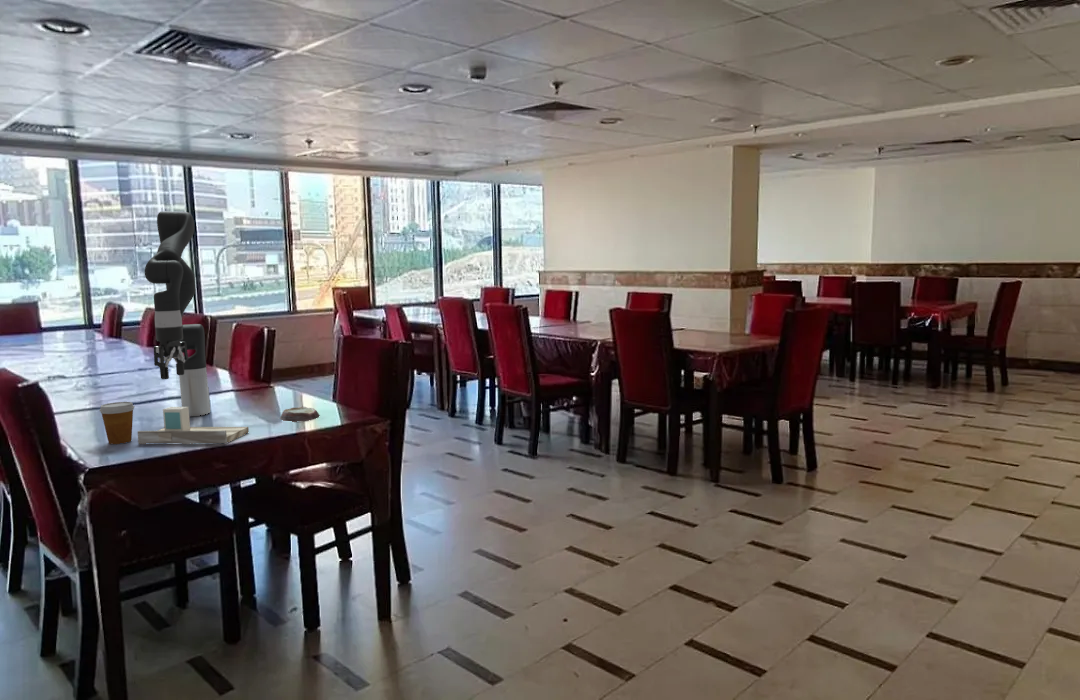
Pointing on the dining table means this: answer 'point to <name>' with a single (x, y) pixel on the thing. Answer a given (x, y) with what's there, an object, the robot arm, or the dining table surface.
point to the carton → (176, 419)
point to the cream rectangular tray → (192, 435)
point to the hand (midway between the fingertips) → (173, 376)
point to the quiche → (299, 414)
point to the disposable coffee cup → (118, 421)
